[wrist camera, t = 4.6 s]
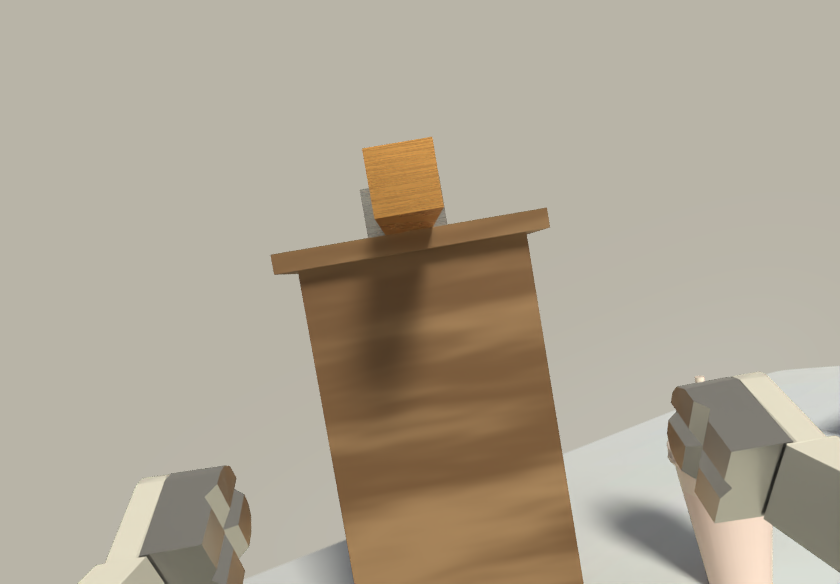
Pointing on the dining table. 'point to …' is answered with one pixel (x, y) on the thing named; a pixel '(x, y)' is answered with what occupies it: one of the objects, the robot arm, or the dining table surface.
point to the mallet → (402, 188)
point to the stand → (440, 404)
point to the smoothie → (728, 539)
